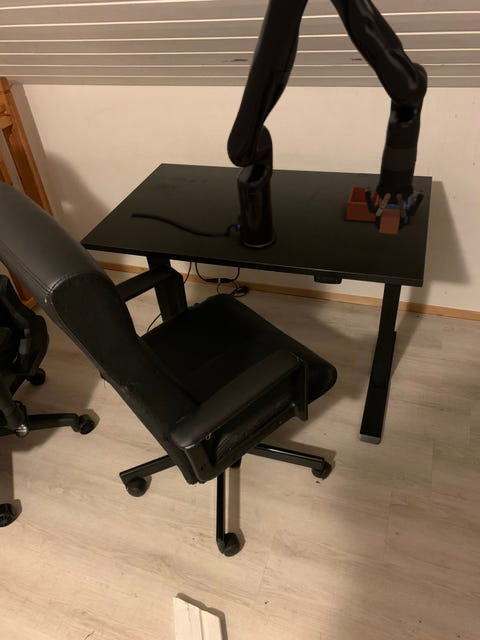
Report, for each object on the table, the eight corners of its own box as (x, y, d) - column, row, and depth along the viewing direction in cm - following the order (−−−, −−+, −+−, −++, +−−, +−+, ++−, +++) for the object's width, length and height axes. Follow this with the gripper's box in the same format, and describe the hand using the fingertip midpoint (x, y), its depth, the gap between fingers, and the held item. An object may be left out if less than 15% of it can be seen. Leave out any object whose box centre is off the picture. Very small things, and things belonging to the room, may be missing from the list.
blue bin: (376, 221, 140) (378, 204, 136) (380, 204, 148) (381, 187, 144) (406, 223, 137) (409, 206, 134) (409, 205, 145) (411, 189, 142)
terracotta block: (379, 232, 117) (381, 217, 114) (380, 224, 120) (382, 208, 117) (397, 234, 116) (399, 218, 113) (398, 225, 119) (400, 209, 116)
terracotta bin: (346, 219, 143) (347, 202, 139) (351, 202, 150) (352, 186, 147) (375, 221, 140) (377, 204, 136) (379, 204, 148) (380, 187, 144)
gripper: (364, 168, 106) (358, 233, 117) (431, 171, 102) (418, 238, 113) (368, 155, 111) (361, 218, 122) (431, 157, 107) (419, 223, 118)
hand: (389, 227), depth 118 cm, fingers closed on terracotta block, 4 cm apart
